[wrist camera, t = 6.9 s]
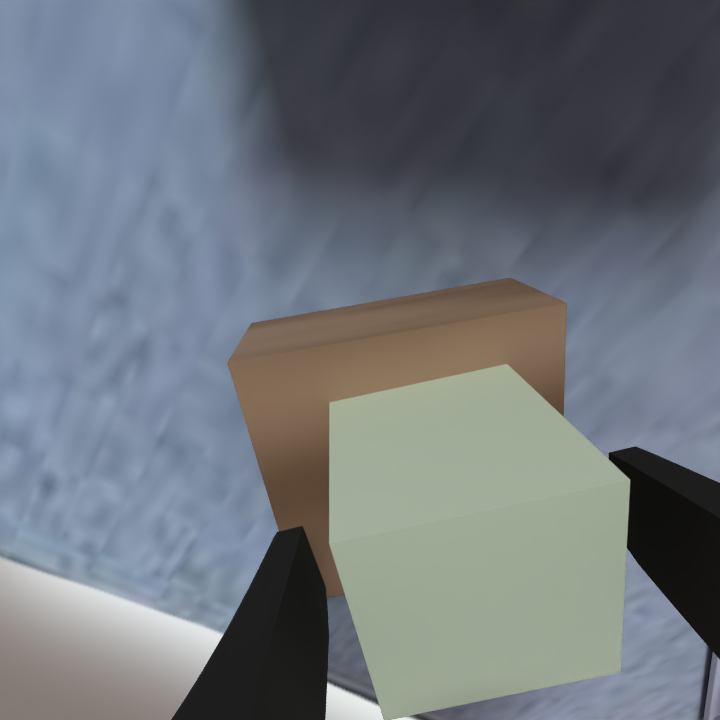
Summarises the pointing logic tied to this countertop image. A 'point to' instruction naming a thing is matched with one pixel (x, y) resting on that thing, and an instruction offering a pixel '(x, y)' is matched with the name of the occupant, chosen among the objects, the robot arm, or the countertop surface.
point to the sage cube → (475, 541)
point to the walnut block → (377, 377)
